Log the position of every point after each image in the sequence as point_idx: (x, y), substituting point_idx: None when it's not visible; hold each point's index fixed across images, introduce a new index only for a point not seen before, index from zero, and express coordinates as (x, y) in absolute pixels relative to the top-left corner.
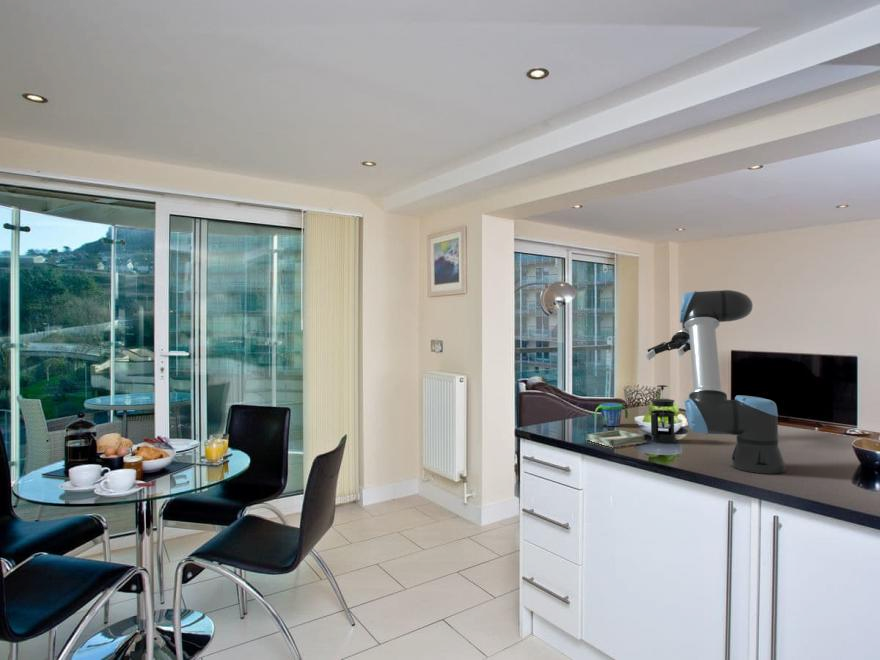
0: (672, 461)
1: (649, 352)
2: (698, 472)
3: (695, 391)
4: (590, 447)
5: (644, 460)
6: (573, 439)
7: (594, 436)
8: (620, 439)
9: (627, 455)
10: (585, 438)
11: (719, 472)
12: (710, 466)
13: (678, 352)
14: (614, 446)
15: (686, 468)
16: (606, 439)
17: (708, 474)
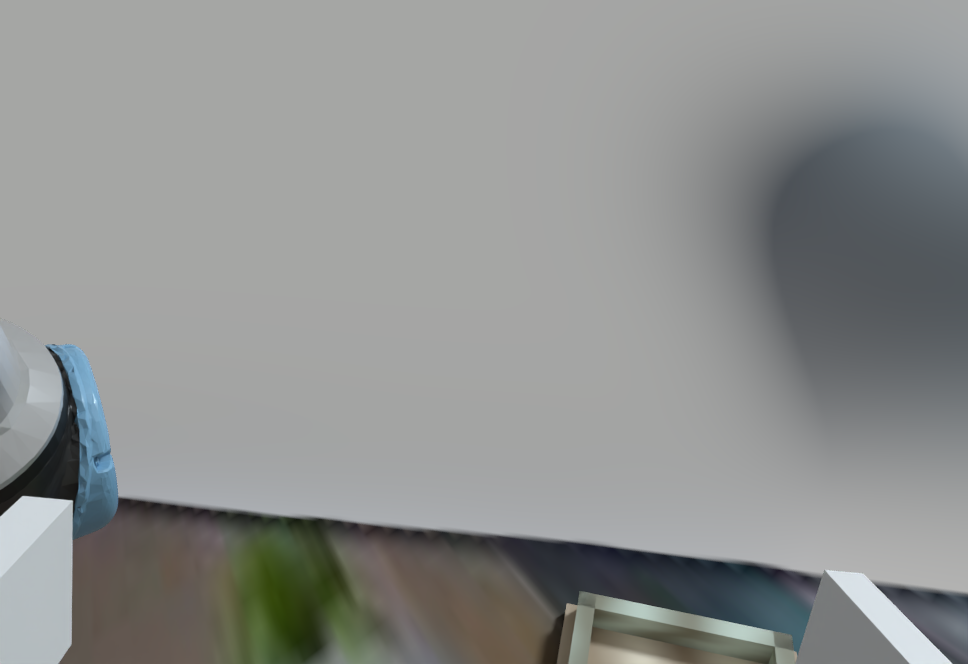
0: (233, 587)
1: (906, 654)
2: None
3: (10, 323)
4: (648, 566)
5: (341, 532)
6: None
7: (718, 621)
8: (570, 650)
9: (436, 553)
10: (796, 655)
11: None
12: None
13: (63, 558)
14: (564, 618)
15: (159, 533)
16: (617, 600)
17: None
